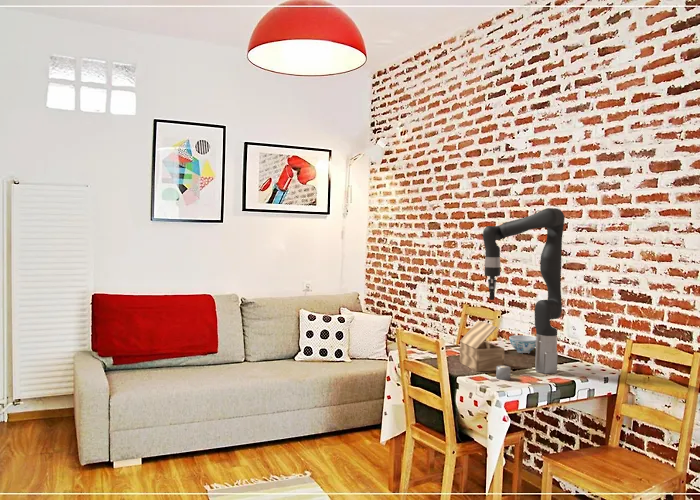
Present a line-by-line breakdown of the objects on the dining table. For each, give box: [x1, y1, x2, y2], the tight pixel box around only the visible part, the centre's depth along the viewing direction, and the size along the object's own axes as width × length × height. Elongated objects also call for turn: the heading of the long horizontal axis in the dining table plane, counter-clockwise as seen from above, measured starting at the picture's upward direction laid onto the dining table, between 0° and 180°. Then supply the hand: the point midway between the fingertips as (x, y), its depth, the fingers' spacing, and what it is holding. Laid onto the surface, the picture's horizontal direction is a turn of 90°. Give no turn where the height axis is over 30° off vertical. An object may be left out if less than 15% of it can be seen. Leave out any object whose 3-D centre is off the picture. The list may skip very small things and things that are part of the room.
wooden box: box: [459, 340, 505, 372], centre depth 288 cm, size 18×14×10 cm
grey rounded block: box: [495, 365, 512, 381], centre depth 266 cm, size 6×6×5 cm
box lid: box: [459, 319, 498, 349], centre depth 287 cm, size 18×14×1 cm
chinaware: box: [509, 334, 536, 354], centre depth 321 cm, size 15×15×8 cm
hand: (491, 299), depth 300 cm, fingers open, 8 cm apart
